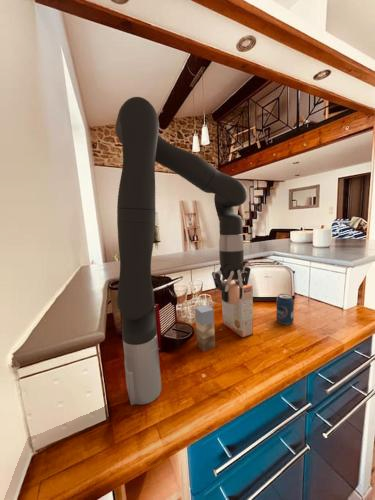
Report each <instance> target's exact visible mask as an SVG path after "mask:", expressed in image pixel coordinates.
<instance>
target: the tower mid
mask: <svg viewBox="0 0 375 500" xmlns="http://www.w3.org/2000/svg"><path fill="white" fill-rule="evenodd" d="M195 329H196V330H195V331H196V335H197V334H198V335H199V336H200V337H201V338H202V339H204V338H207V337H210V336H213V335H215V333H216V332H215V322H214V323H211V324H207V325H204V326H202V325H201V324H199V323H198V322H197V321H196V320H195Z"/></svg>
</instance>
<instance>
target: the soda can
mask: <svg viewBox="0 0 375 500" xmlns="http://www.w3.org/2000/svg"><path fill="white" fill-rule="evenodd" d="M294 306H295V301H294V299H293V296H292V295H291V294H288V293H279V294H278V295H277V297H276V320H277V321H278V323H279V324H282V325H291V324H292V323H294V318H295V317H294V312H295V311H294V310H295V309H294V308H295V307H294Z"/></svg>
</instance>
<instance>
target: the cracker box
mask: <svg viewBox="0 0 375 500" xmlns="http://www.w3.org/2000/svg"><path fill="white" fill-rule="evenodd" d="M226 281H227V280H226ZM231 283H235V281H234V280H232V281H231ZM253 289H254V288H253V285H252V284H249V283H248V284H247V285H245V286H243V288H242V298H241V299H240V302H239V303H238V304H227V303H226V302H224V301H223V300H222V299H221V306H222V307H221V309H222V314H221V315H222V324H223V325H224V326H226V327H227V328H229V329H230V330H231V331H232V332H234V333H236V335H238V336H240V337H241V338H245V337H248V336H251V335H253V334H254V313H253V312H254V307H253V305H254V301H253V299H254V298H253V291H254V290H253Z"/></svg>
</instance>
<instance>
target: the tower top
mask: <svg viewBox="0 0 375 500" xmlns="http://www.w3.org/2000/svg"><path fill="white" fill-rule="evenodd" d="M194 310H195V322H196V321H197V322H198V323H199V324H201V325H202V326H204V325H207V324H211V323H214V324H215V312H214V311H215V309H214V308H213V307H211V306H209V305H208V304H205V305H200V306H197V307H195V309H194Z"/></svg>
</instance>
